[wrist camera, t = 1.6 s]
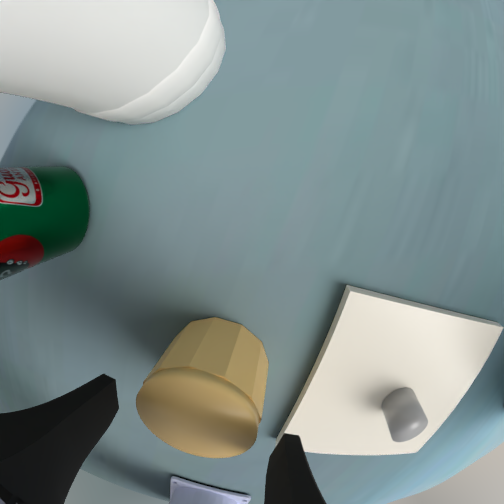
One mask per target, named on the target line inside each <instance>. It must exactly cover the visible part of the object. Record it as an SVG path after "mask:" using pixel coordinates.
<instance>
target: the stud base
mask: <svg viewBox="0 0 504 504" xmlns="http://www.w3.org/2000/svg"><path fill="white" fill-rule="evenodd" d="M503 328H504V327H502V326H501V325H500V324H499V323H497V322H494V321H490V320H486V319H481V318H477V317H473V316H469V315H465V314H461V313H457V312H453V311H449V310H445V309H441V308H437V307H433V306H429V305H425V304H421V303H417V302H413V301H409V300H405V299H401V298H397V297H393V296H389V295H385V294H381V293H377V292H373V291H369V290H365V289H361V288H358V287H354V286H350V285H346V288H345V291H344V294H343V296H342V299H341V302H340V304H339V307H338V309H337V312H336V315H335V317H334V320H333V322H332V325H331V327H330V329H329V332H328V334H327V337H326V339H325V341H324V344H323V346H322V348H321V351H320V353H319V355H318V357H317V360H316V362H315V364H314V366H313V368H312V371H311V373H310V375H309V377H308V379H307V381H306V383H305V385H304V387H303V389H302V391H301V393H300V395H299V397H298V399H297V401H296V403H295V405H294V407H293V409H292V411H291V413H290V415H289V417H288V418H287V420H286V422H285V424H284V426H283V428H282V429H281V431H280V433H279V435H278V437H277V438H276V446H277V444H278V442H279V441H280V439H281V437H282V436H283V434H284V433H287V434H293V435H299V436H300V439H301V442H302V446H303V449H304V452H313V453H324V454H340V455H391V454H406V453H416V452H417V451H418V450H419V449H420V448H421V447H422V446H423V445H424V444H425V443H426V442H427V441H428V440H429V438H430V437H431V436H432V435H433V434H434V433H435V432H436V431H437V429H438V428H439V427H440V426H441V425H442V423H443V422H444V421H445V420H446V418H447V417H448V416H449V415H450V413H451V412H452V411H453V410H454V408H455V407H456V406H457V404H458V403H459V402H460V400H461V399H462V397H463V396H464V395H465V393H466V392H467V390H468V389H469V387H470V386H471V384H472V383H473V381H474V380H475V378H476V377H477V375H478V373H479V372H480V370H481V368H482V367H483V365H484V363H485V362H486V360H487V358H488V357H489V355H490V353H491V351H492V349H493V347H494V346H495V344H496V342H497V340H498V338H499V336H500V334H501V332H502V330H503ZM276 446H275V447H276Z"/></svg>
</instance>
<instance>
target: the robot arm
mask: <svg viewBox="0 0 504 504" xmlns="http://www.w3.org/2000/svg"><path fill="white" fill-rule="evenodd" d="M118 409H119V405H118V398H117V390H116V380H115V379H113V378H111V377H109V376H107V375H105V374H102V375H100V376H99V377H97V378H95V379H93V380H91V381H90V382H88V383H86V384H84V385H82V386H81V387H79V388H77V389H75V390H73V391H71V392H69V393H67V394H65V395H63V396H61V397H58V398H56V399H54V400H51V401H49V402H47V403H44V404H41V405H38V406H35V407H32V408H28V409H24V410H20V411H15V412H10V413H1V414H0V504H64V502H65V499H66V497H67V494H68V492H69V489H70V487H71V485H72V483H73V481H74V479H75V477H76V475H77V473H78V471H79V469H80V467H81V465H82V463H83V462H84V460H85V459H86V457H87V456H88V454H89V453H90V452H91V450H92V449H93V448H94V446H95V445H96V444H97V442H98V441H99V440H100V438H101V437H102V436H103V434H104V433H105V431H106V430H107V429H108V427H109V426H110V424H111V422H112V421H113V419H114V417H115V415H116V413H117V411H118ZM250 500H251V496H249V495H244V494H239V493H234V492H229V491H225V490H221V489H216V488H212V487H209V486H205V485H201V484H198V483H194V482H191V481H188V480H185V479H182V478H179V477H175V476H172V477H171V483H170V502H169V504H248V502H249V501H250ZM264 504H326V502H325V500H324V498H323V496H322V494H321V492H320V490H319V488H318V486H317V484H316V482H315V479H314V477H313V475H312V472H311V470H310V467H309V464H308V461H307V458H306V456H305V452H304V449H303V446H302V442H301V439H300V436H299V435H293V434H287V433H284V434H283V436H282V437H281V439H280V441H279V442H278V444H277V446H276V447H275V449H274V451H273V452H272V454H271V455H270V458H269V463H268V469H267V474H266V485H265V502H264Z"/></svg>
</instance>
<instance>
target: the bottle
mask: <svg viewBox="0 0 504 504" xmlns="http://www.w3.org/2000/svg"><path fill="white" fill-rule="evenodd" d="M225 50H226V44H225V33H224V28H223V25H222V23H221V21H220V14H219V12H218V9H217V7H216V4H215V2H214V1H213V0H0V93H6V94H11V95H17V96H22V97H28V98H32V99H36V100H41V101H45V102H50V103H54V104H58V105H62V106H66V107H70V108H74V110H75V111H78V112H80V113H83V114H87V115H91V116H94V117H98V118H101V119H104V120H108V121H112V122H122V123H125V124H129V125H136V124H145V123H154V122H156V121H158V120H161V119H163V118H165V117H168V116H170V115H172V114H175V113H177V112H179V111H180V110H181V109H183V108H184V107H185V106H186V105H188V104H189V103H190V102H192V101H193V100H194V99H195V98H197V97H198V96H199V95H201V94H202V92H203V91H204V90H205V88H206V87H207V86H208V84H209V83H210V82H211V80H212V79H213V78H214V76H215V75H216V74H217V73H218V71H219V68H220V65H221V62H222V59H223V56H224V53H225Z"/></svg>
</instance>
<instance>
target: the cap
mask: <svg viewBox="0 0 504 504" xmlns="http://www.w3.org/2000/svg"><path fill="white" fill-rule="evenodd" d="M268 364H269V362H268V359H267V356H266V353H265V350H264V347H263V344H262V342H261V341H260V340H259V339H258V338H257V337H255V336H254V335H253V334H252V333H251V332H250V331H249V330H247V329H246V328H245V327H244V326H243V325H241V324H238V323H234V322H231V321H227V320H224V319H220V318H217V317H213V318H208V319H202V320H197V321H191V322H190V323H189V324H188V325H187V326H186V327H185V328H184V329H183V330H182V331H181V332H180V333H179V334H178V335H177V336H176V337H175V338H174V340H173V341H172V342H171V344H170V345H169V347H168V348H167V349H166V351H165V352H164V354H163V355H162V356H161V358H160V359H159V361H158V362H157V363H156V365H155V366H154V368H153V369H152V371H151V372H150V373H149V375H148V376H147V378H146V379H145V380H144V382H143V386H142V388H141V389H140V391H139V392H138V394H137V398H136V407H137V411H138V414H139V416H140V418H141V419H142V421H143V422H144V424H145V425H146V426H147V427H148V429H149V430H150V431H151V432H152V433H153V434H155V435H156V436H157V437H158V438H160V439H161V440H162V441H164V442H165V443H167V444H169V445H171V446H172V447H174V448H176V449H179V450H181V451H183V452H186V453H189V454H193V455H196V456H201V457H208V458H227V457H232V456H236V455H239V454H242V453H244V452H246V451H247V450H248V449H250V448H251V447H252V446H253V444H254V443H255V441H256V438H257V432H258V425H259V423H260V421H261V418H262V411H263V404H264V396H265V388H266V380H267V372H268Z"/></svg>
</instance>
